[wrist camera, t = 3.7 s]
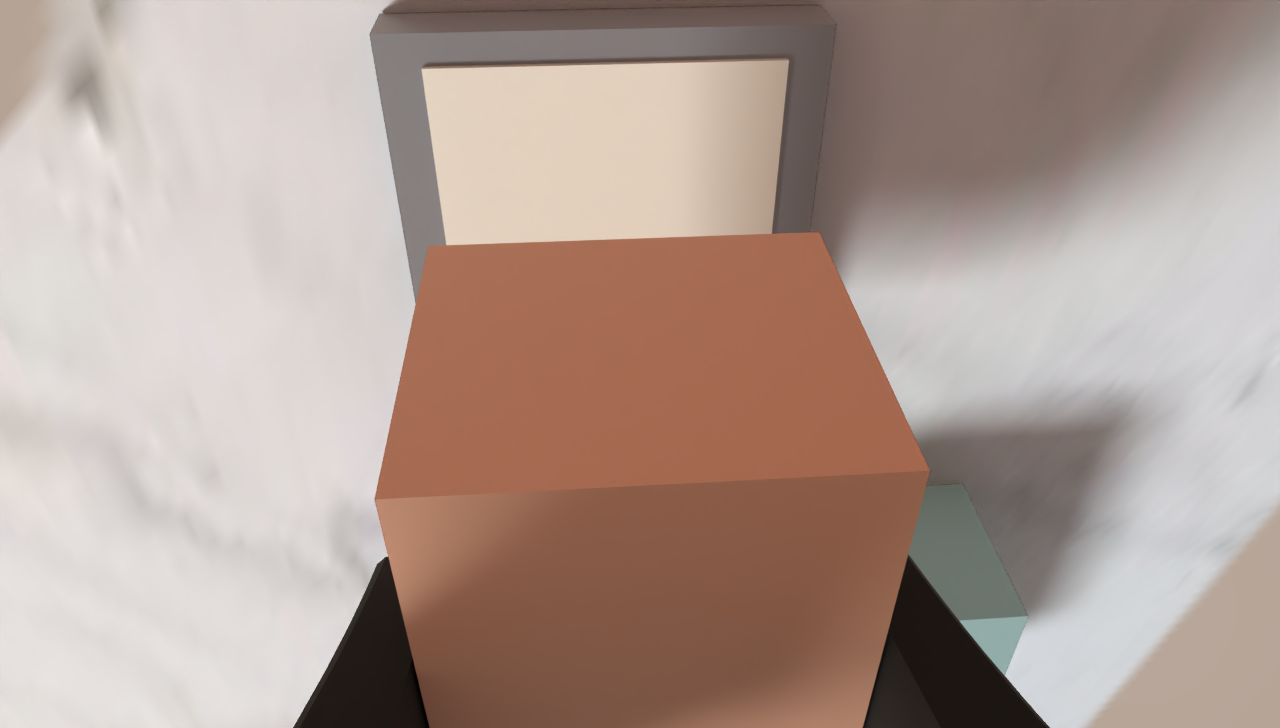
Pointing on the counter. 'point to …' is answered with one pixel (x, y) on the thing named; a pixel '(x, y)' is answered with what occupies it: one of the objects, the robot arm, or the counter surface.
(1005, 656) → the teal brick
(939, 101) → the counter surface
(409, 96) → the baseplate
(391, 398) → the counter surface
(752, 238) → the terracotta brick
